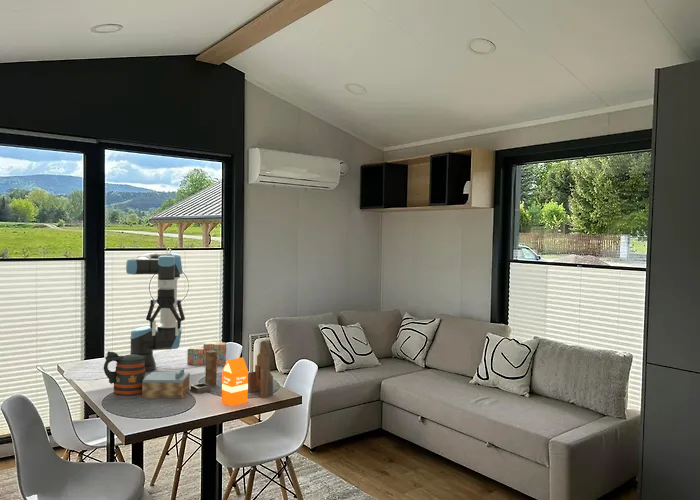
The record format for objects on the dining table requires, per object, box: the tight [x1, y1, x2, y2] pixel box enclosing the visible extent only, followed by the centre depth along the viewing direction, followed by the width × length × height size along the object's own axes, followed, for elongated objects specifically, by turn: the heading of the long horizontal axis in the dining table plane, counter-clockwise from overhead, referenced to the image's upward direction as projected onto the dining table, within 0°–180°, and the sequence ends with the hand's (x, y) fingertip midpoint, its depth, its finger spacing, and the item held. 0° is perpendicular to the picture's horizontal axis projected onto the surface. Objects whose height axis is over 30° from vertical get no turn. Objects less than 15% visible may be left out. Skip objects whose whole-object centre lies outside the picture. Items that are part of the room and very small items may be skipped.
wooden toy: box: [248, 340, 274, 399], centre depth 258 cm, size 15×7×25 cm, turn 42°
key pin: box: [204, 350, 218, 387], centre depth 270 cm, size 4×4×17 cm
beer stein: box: [103, 350, 146, 396], centre depth 255 cm, size 19×15×20 cm
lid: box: [143, 367, 191, 383], centre depth 254 cm, size 18×14×4 cm
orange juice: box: [221, 357, 249, 407], centre depth 243 cm, size 8×9×20 cm
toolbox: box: [141, 375, 190, 399], centre depth 254 cm, size 18×14×7 cm
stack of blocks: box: [186, 341, 227, 366], centre depth 314 cm, size 21×6×12 cm, turn 94°
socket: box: [189, 382, 212, 394], centre depth 260 cm, size 7×7×2 cm
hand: (165, 335), depth 253 cm, fingers open, 10 cm apart
